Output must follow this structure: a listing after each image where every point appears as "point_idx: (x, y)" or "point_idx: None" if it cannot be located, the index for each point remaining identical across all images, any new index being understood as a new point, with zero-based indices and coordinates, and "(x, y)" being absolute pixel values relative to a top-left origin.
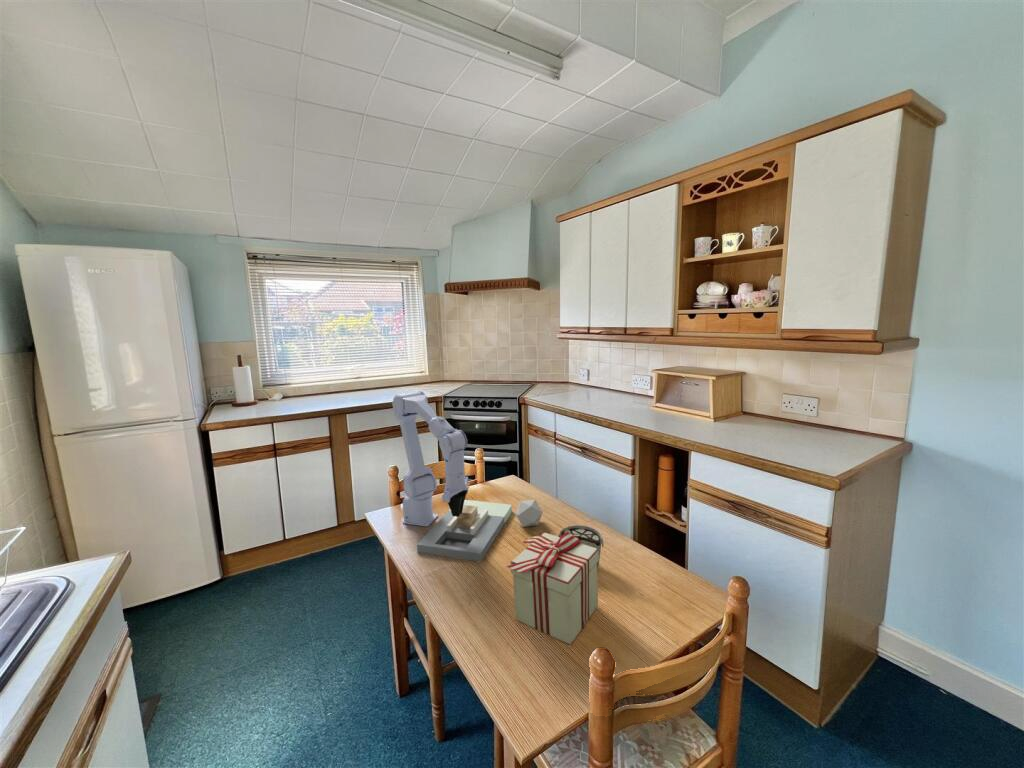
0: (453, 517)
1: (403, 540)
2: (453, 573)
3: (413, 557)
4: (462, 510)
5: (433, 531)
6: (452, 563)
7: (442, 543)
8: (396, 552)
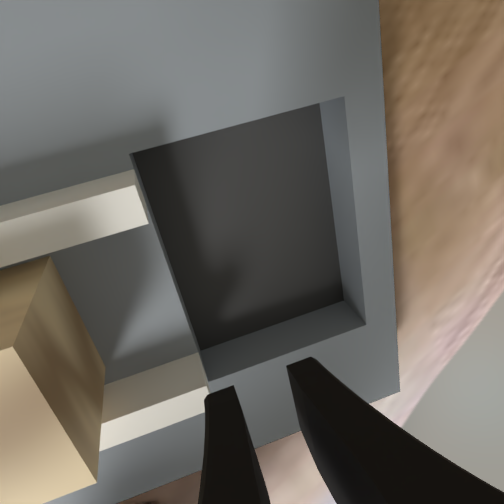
0: None
1: (313, 474)
2: (492, 52)
3: (415, 341)
4: (211, 416)
5: (249, 429)
6: (408, 128)
7: (264, 320)
8: (402, 421)
